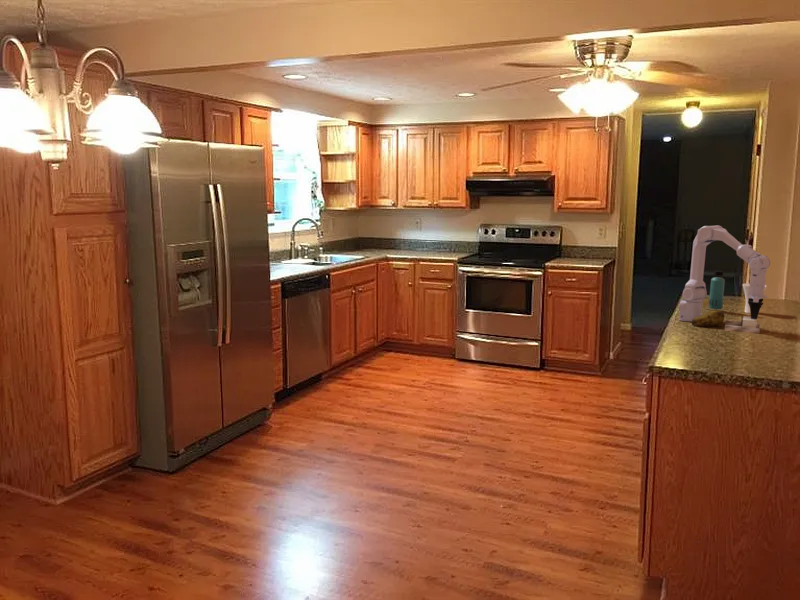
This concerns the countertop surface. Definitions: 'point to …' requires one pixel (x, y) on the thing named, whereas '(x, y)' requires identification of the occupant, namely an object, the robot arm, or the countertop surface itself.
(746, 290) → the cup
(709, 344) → the countertop surface
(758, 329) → the press board
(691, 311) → the robot arm
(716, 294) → the beverage bottle
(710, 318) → the potato
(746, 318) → the block
